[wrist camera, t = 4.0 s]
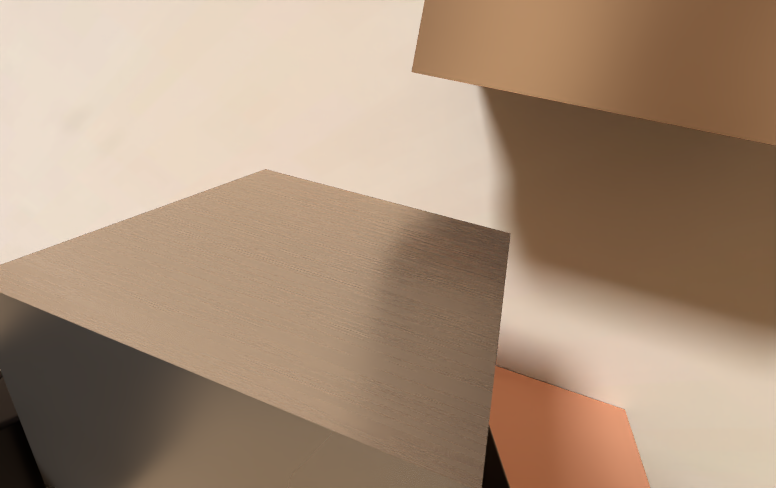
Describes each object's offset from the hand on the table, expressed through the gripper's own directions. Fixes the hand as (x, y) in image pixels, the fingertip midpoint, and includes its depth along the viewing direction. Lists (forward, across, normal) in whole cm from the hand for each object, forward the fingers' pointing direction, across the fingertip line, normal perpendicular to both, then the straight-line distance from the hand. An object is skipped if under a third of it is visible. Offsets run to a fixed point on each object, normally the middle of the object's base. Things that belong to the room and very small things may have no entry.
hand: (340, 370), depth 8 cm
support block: (+1, 0, 0) cm, 1 cm away
